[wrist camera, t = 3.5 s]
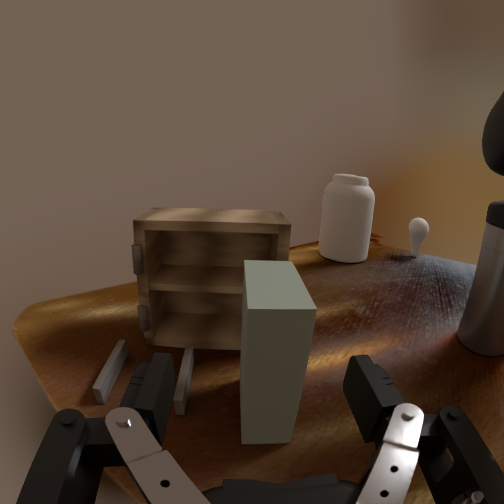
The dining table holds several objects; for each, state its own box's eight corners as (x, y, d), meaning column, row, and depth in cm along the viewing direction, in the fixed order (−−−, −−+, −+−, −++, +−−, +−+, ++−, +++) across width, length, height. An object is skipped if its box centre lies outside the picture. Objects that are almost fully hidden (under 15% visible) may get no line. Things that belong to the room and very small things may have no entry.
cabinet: (271, 317, 42) (280, 211, 37) (293, 416, 24) (319, 259, 19) (144, 312, 40) (136, 207, 36) (97, 402, 22) (59, 250, 18)
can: (307, 253, 72) (314, 171, 67) (336, 246, 80) (343, 173, 74) (350, 267, 63) (361, 176, 58) (375, 258, 71) (385, 179, 65)
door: (287, 379, 29) (303, 261, 25) (302, 441, 21) (332, 308, 17) (239, 379, 29) (244, 260, 25) (241, 444, 20) (247, 308, 17)
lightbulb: (426, 260, 71) (434, 221, 68) (407, 259, 72) (414, 218, 69) (419, 254, 77) (425, 217, 74) (401, 252, 78) (407, 214, 74)
